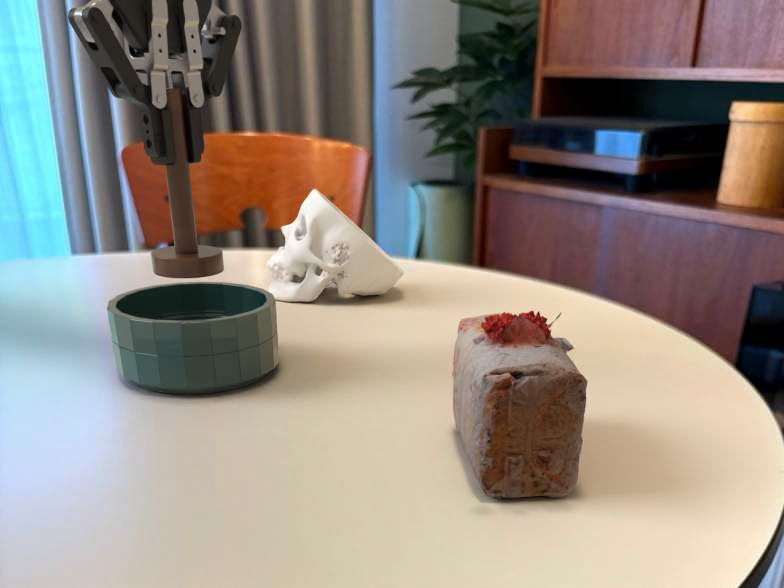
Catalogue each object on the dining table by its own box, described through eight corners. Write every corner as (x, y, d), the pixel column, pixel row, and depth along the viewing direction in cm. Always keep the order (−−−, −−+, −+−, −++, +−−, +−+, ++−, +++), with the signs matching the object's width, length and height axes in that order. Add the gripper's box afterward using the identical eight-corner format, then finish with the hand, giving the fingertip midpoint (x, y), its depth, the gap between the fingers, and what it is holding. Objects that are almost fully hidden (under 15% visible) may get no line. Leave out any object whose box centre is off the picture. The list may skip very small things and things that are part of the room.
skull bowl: (251, 272, 97) (303, 177, 93) (353, 333, 102) (407, 245, 98) (249, 293, 88) (306, 188, 84) (360, 359, 93) (420, 263, 89)
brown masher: (181, 282, 64) (159, 89, 57) (139, 271, 67) (112, 87, 60) (238, 270, 67) (223, 88, 61) (195, 260, 70) (176, 86, 64)
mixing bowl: (184, 411, 63) (174, 333, 60) (87, 372, 70) (74, 301, 67) (311, 369, 72) (308, 299, 69) (213, 338, 79) (206, 274, 76)
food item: (440, 420, 62) (446, 286, 57) (545, 417, 63) (558, 285, 58) (469, 503, 50) (478, 344, 45) (597, 500, 51) (620, 342, 46)
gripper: (193, -105, 61) (216, 154, 70) (14, -137, 52) (67, 166, 60) (261, -116, 57) (277, 161, 65) (80, -152, 48) (126, 175, 56)
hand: (176, 162), depth 63 cm, fingers closed on brown masher
